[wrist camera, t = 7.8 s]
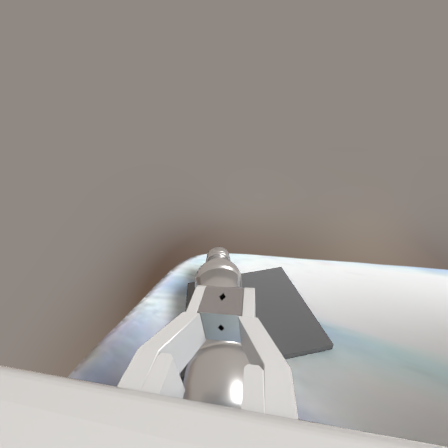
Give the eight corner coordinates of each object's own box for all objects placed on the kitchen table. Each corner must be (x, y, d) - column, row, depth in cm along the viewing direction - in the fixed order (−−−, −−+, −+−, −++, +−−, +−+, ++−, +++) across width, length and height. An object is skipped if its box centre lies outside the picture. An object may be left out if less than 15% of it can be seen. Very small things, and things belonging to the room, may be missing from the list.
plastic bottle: (250, 419, 10) (227, 232, 27) (151, 445, 11) (190, 250, 29) (288, 445, 12) (244, 260, 30) (205, 463, 14) (210, 275, 31)
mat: (280, 270, 31) (281, 266, 30) (332, 349, 19) (333, 344, 19) (189, 286, 29) (188, 283, 29) (182, 381, 18) (180, 376, 17)
